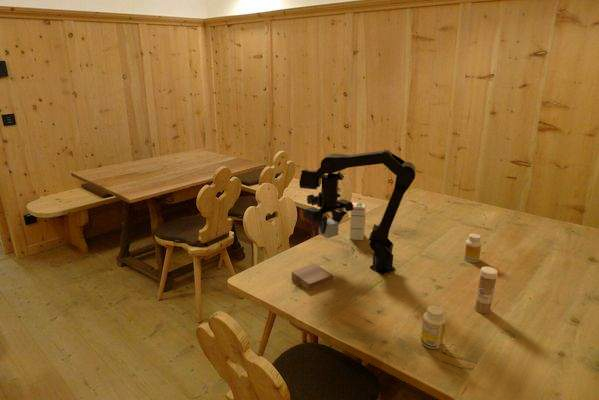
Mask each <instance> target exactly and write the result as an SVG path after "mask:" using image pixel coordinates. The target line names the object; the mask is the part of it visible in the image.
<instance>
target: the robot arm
mask: <svg viewBox="0 0 599 400" xmlns="http://www.w3.org/2000/svg"><path fill="white" fill-rule="evenodd" d="M372 165H374V166H375V165H384V166H385V167H386V168H387V169H388V170H389V171H390V172H391V173H393V175H395V176H396V177H395V182H394V187H393V190H392V192H391V195H390V197H389V200H388V202H387V206H386V208H385V210H384V212H383V215H382V218H381V221H380V222H379V223H378V225H377V224H375V223H374V224H373V227H372V231H371V232H370V233H369V237H368V242H369V247H370V249H371V250H372V251H373V255H372V264H371V265H370V266H369V267H370V269H372V270H374V271H376V272H378V273H380V274H381V275H385V274H386V275H387V274H388V273H390V272H392V271H395V270H396V267H394V266H393V264H394V254H393V248H394V243H393V242H392V241H391V240H390V239H389V234H390V229H391V227H392V224H393V222H394V220H395V217H396V215H397V212H398V210H399V207H400V205H401V202H402V200H403V197H404V195H405V194H406V192H407V190H408V189H409V188H410V186H411V185H412V184H413V182H414V180H415V179H416V173H417V172H416V171H417V170H416V166H415V165H414V163H412V162H410V161H406V160H404V159H403V158H401V157H400V156H398V155H396V154H394V153H393V152H391V150H389V149H383V150H378V151H369V152H362V153H355V154H343V153H329V154H327V155H325V157H323V159H322V160H321V161H320V167H318V169H316V170H313V169H307V168H303V169H301V174H300V177H299V178H300V179H299V188H300V189H303V190H305V189H306V190H315V191H316V190H318V188H320V187H321V189H320V192H318V195H314V194H307V195H306V203H307V204H308V205H311V207H308V208H305V209H304V211H303V217H304V218H307V219H308V220H310V221H313V222H316V223H317V225H318V229H319V228H320V230H321V233H322V234H324V233H325V229H326V224H327V219H328V218H329V217H326V214H327V213H331V216H332V217H331V219H333V220H335V221H337V222H339V224H340V222H341V221H342V220H343V218H344V217H345V215H347V212H351V210H353V204H352V203H353V202H352V201H349V200H347V199H344V198H343V199H339V200H338V198H340V197H341V193H339V181H343V179H344V178H345V175H344V174H343V173H342V172H341V171H343V170H346V169H348V168H357V167H364V166H372ZM315 205H316V206H317V207H318V208H317V207H314V206H315Z"/></svg>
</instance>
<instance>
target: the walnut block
mask: <svg viewBox="0 0 599 400" xmlns="http://www.w3.org/2000/svg"><path fill="white" fill-rule="evenodd" d="M291 279H292V280H293V281H295V282H296V283H297V284H299V285H300V286H301V287H303V288H304V289H305V290H307V291H309V292H311V291H313V290H316V289H318V288H320V287H323V286H326V285H329V284H330V283H333V282H334V274H332V273H331V272H329V271H327V270H326V269H324V268H323V267H321V266H319V265H318V264H317V263H312V264H309V265H306V266H304V267H300V268H297V269H294V270H292V271H291Z"/></svg>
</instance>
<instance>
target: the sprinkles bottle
mask: <svg viewBox="0 0 599 400" xmlns="http://www.w3.org/2000/svg"><path fill="white" fill-rule="evenodd" d="M498 274H499V271H498V270H497V269H496V268H494V267H491V266H482V267H481V268H480V272H479V275H480V276H479V282H478V285H477V290H476V296H475V304H474V309H475V311H477V312H479V313H481V314H489V313H490V312H491V311H492V310H491V307H492V302H493V300H494V294H495V289H496V283H497V278H498V277H499V276H498Z"/></svg>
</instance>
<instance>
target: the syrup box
mask: <svg viewBox="0 0 599 400" xmlns="http://www.w3.org/2000/svg"><path fill="white" fill-rule="evenodd" d="M352 204H353V210H351V211H350V220H349V221H350V226H349V239H350V240H357V241H364V239H365V232H366V231H365V230H366V229H365V228H366V206H367V205H366V203H365V202H352Z"/></svg>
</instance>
